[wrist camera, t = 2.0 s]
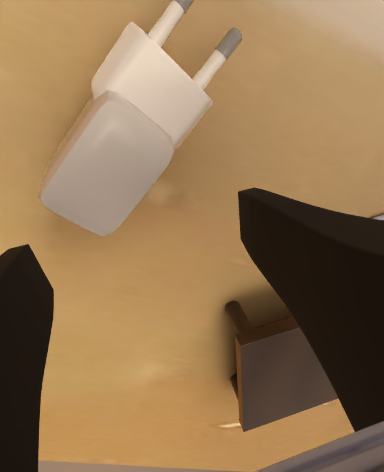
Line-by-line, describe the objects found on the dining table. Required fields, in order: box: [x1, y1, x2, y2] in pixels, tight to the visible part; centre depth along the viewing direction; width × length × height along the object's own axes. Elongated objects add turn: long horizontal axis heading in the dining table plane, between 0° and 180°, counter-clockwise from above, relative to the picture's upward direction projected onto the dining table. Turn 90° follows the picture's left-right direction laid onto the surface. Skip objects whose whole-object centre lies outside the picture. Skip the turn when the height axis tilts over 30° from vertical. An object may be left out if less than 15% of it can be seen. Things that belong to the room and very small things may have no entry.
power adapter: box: [38, 0, 242, 236], centre depth 14 cm, size 11×5×6 cm, turn 138°
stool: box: [225, 301, 338, 432], centre depth 30 cm, size 14×14×5 cm
